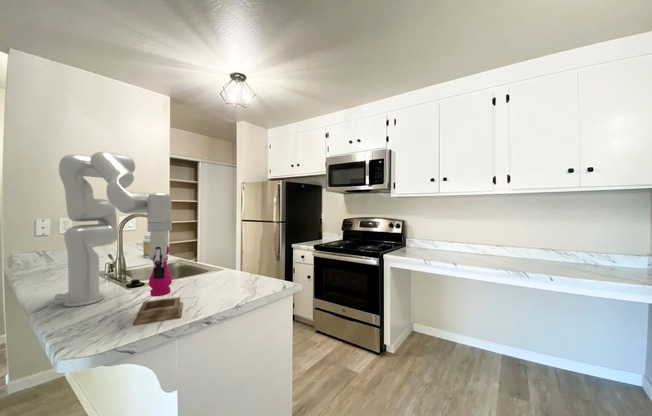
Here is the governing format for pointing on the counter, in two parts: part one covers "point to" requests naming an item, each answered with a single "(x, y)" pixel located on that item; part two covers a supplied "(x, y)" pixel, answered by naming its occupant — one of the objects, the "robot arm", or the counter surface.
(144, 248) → the supplement tub
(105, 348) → the counter surface
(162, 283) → the pepper mill
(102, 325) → the counter surface
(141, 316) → the wooden tray
